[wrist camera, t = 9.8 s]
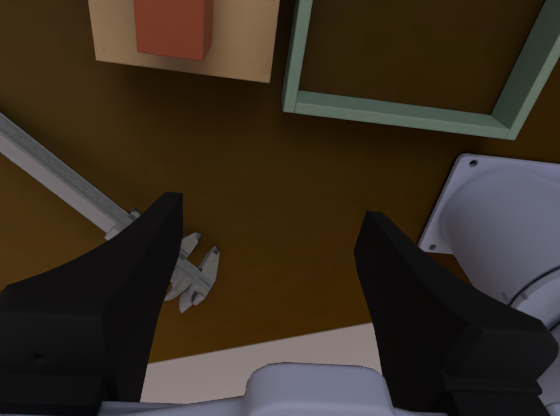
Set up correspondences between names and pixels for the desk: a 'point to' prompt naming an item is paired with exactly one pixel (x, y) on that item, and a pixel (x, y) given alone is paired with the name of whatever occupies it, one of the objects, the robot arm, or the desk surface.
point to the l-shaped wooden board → (222, 54)
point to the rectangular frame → (501, 124)
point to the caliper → (103, 209)
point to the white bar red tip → (174, 27)
